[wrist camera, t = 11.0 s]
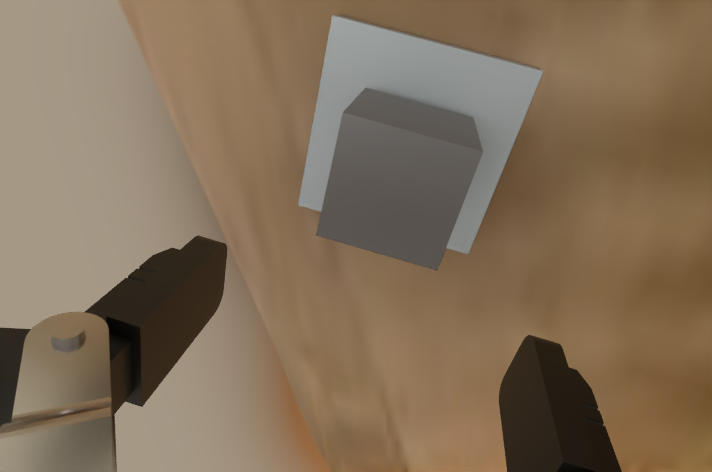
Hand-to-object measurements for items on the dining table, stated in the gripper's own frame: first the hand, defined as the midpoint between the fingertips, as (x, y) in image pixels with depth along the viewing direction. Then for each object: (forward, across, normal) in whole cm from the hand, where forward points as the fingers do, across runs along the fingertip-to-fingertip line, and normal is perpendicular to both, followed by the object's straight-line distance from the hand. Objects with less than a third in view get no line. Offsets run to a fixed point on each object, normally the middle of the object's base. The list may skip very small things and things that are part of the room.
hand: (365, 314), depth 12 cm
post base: (+17, 0, 0) cm, 17 cm away
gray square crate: (+14, 0, 0) cm, 14 cm away
